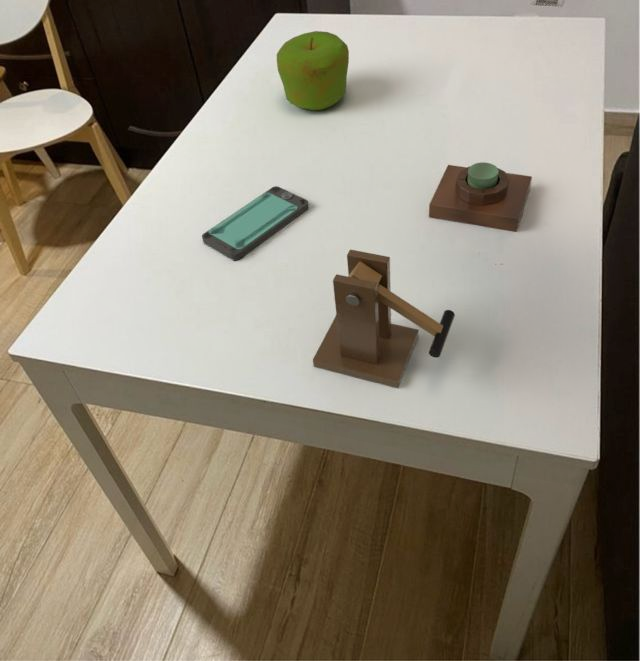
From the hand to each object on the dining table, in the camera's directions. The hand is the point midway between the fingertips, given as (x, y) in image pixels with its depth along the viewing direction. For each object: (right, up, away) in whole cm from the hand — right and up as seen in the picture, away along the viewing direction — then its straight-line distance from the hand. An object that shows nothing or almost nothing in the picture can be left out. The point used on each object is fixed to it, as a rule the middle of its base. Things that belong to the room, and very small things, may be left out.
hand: (547, 4), depth 62 cm
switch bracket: (-16, -33, +14) cm, 39 cm away
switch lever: (-14, -29, +7) cm, 33 cm away
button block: (+1, -13, +31) cm, 33 cm away
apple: (-22, +10, +55) cm, 60 cm away
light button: (+1, -10, +28) cm, 30 cm away
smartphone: (-31, -16, +32) cm, 47 cm away
